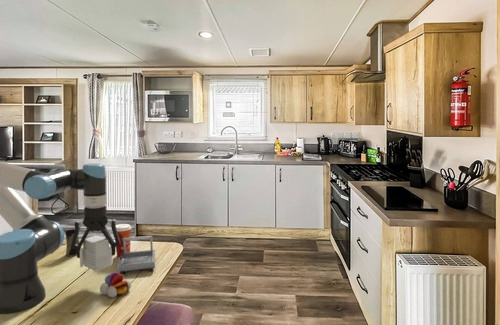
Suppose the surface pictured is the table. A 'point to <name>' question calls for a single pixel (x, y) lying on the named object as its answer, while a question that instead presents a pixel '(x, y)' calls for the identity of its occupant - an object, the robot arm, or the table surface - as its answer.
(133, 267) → the grey storage bin
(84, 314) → the table surface
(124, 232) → the paper cup
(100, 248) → the small box
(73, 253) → the mug
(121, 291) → the rainbow segmented toy
